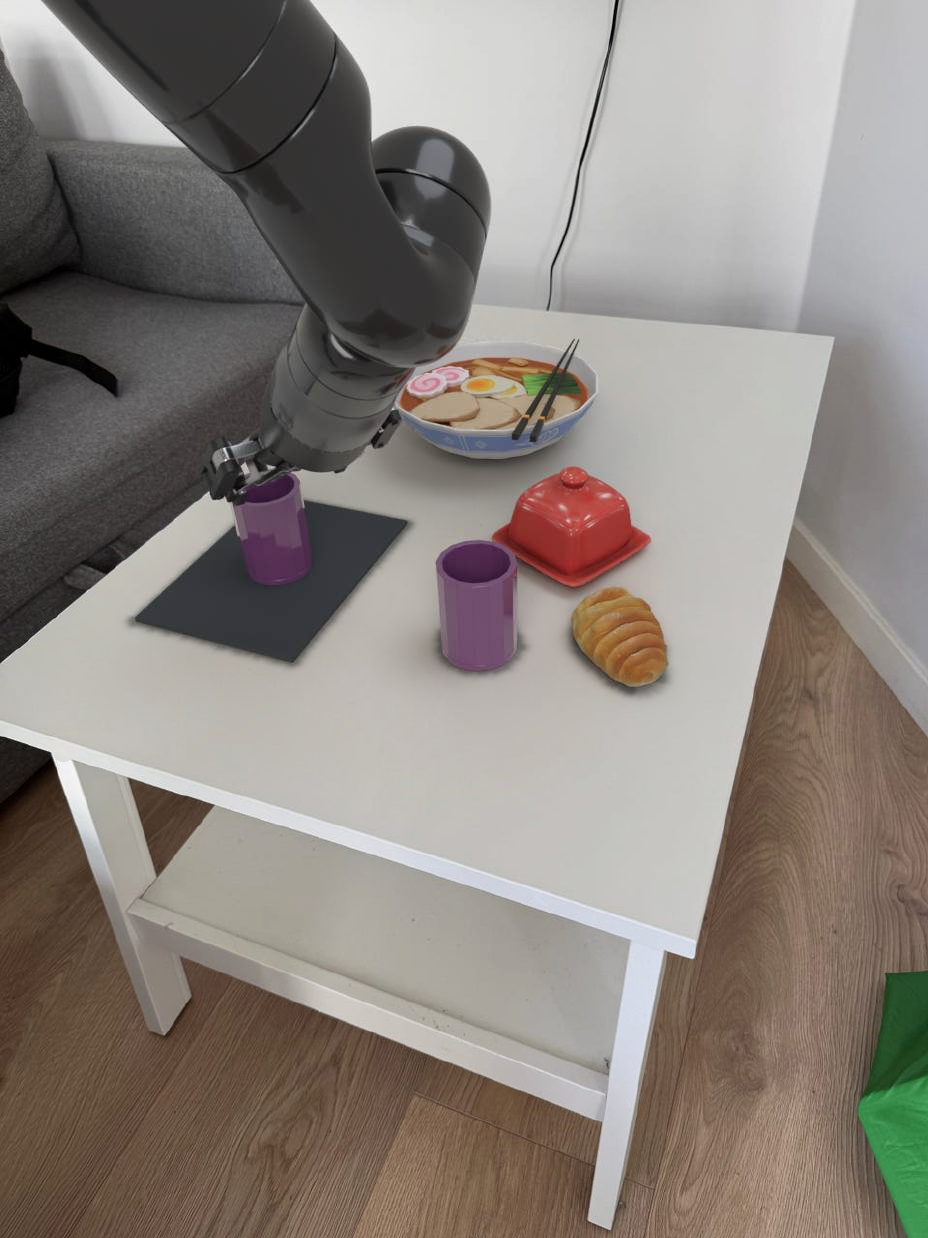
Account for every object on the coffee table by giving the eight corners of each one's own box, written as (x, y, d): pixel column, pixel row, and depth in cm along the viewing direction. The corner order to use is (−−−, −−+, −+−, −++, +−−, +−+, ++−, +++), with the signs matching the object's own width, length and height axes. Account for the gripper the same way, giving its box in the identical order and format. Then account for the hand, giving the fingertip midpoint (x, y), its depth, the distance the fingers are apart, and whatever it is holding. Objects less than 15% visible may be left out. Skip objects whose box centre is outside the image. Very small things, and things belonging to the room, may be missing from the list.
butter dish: (657, 549, 85) (666, 469, 80) (572, 602, 80) (576, 519, 74) (568, 503, 92) (571, 426, 87) (484, 548, 87) (481, 470, 81)
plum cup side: (463, 680, 73) (458, 596, 67) (429, 637, 77) (422, 554, 72) (530, 655, 75) (531, 570, 69) (494, 614, 79) (492, 531, 74)
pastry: (688, 680, 72) (694, 643, 69) (609, 702, 70) (612, 665, 68) (634, 610, 79) (637, 574, 76) (561, 629, 77) (562, 593, 75)
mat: (292, 662, 75) (291, 659, 75) (135, 621, 80) (134, 617, 80) (407, 523, 91) (407, 520, 90) (269, 496, 96) (269, 492, 95)
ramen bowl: (436, 385, 115) (432, 322, 110) (617, 405, 109) (621, 338, 104) (357, 485, 97) (347, 414, 92) (568, 515, 91) (571, 440, 85)
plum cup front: (258, 593, 82) (239, 513, 77) (238, 559, 86) (219, 480, 81) (323, 572, 84) (309, 493, 79) (300, 540, 88) (286, 462, 83)
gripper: (404, 314, 61) (346, 410, 76) (198, 367, 55) (179, 460, 70) (449, 417, 61) (382, 493, 75) (247, 481, 55) (218, 549, 70)
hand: (285, 477), depth 73 cm, fingers open, 8 cm apart
